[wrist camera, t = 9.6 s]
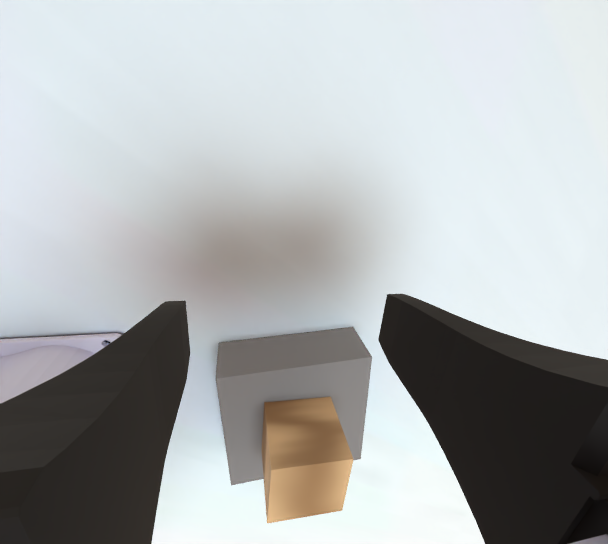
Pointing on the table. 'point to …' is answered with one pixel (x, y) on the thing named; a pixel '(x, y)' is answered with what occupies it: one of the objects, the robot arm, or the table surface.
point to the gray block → (288, 388)
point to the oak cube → (303, 459)
